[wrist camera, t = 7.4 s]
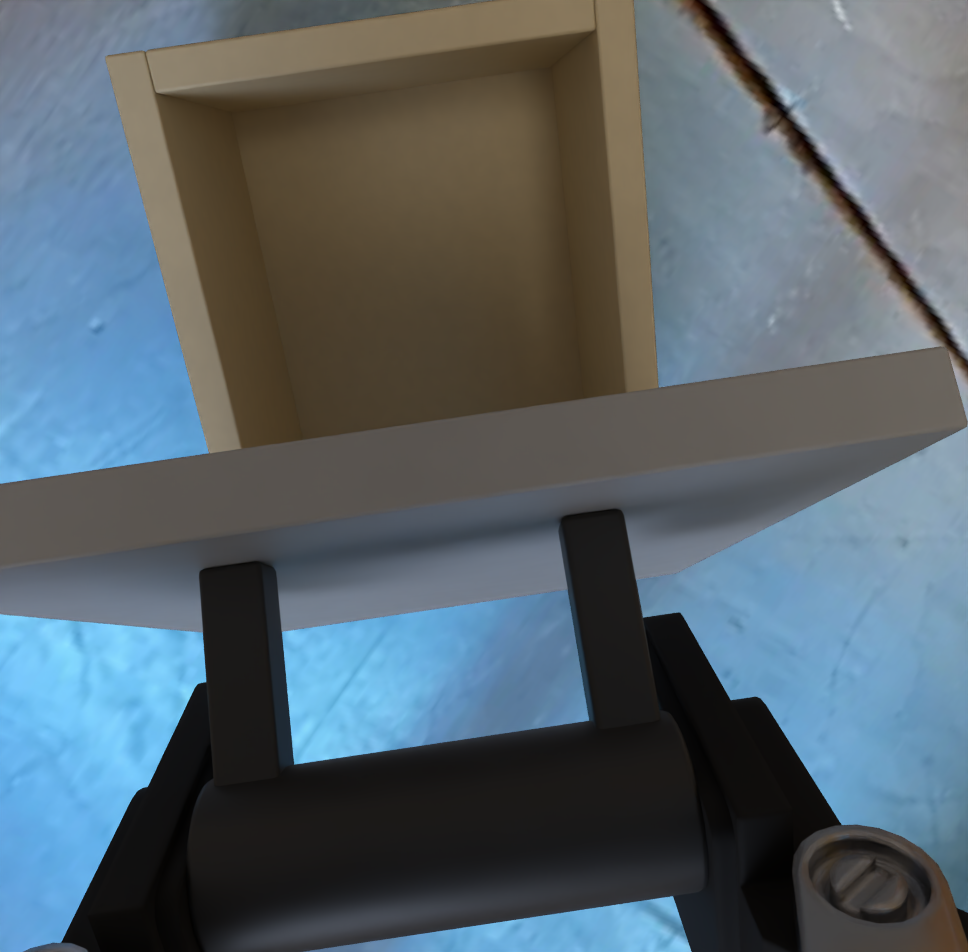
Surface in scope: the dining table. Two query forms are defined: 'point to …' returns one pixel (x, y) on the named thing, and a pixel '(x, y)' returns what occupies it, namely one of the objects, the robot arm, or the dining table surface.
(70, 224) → the dining table surface
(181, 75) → the box
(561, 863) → the lid
